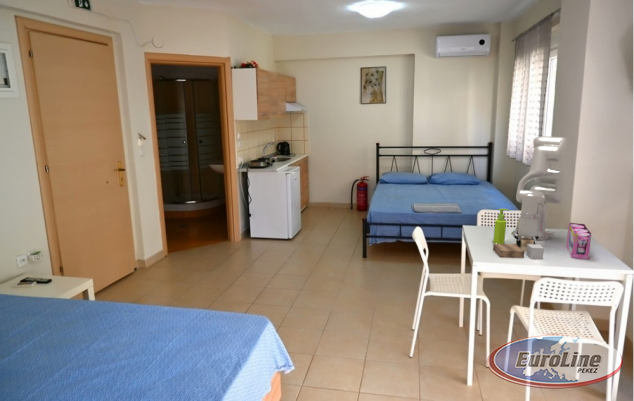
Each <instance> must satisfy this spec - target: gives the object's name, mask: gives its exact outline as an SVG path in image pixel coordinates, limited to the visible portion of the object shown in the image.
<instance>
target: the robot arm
mask: <svg viewBox="0 0 634 401" xmlns="http://www.w3.org/2000/svg"><path fill="white" fill-rule="evenodd" d="M532 144H533V151H532V152H533V153H532V158H531V163H530V169H529V172H528V173H526V174H525V175H524V176H523V177H522V178H521V179H520V180H519V183H518V185H517V189H516V194H515V200H516V201H517V202H518V203H520V204H521V209H520V210H521V211H520V216H519V217H518V219H517V222H516V227H515V229H514V230H513V231H512V232H511V233H510V234H511V236H512V237H514V238H515V240H516V241H515V242H516V243H515V244H516V245H518V246H519V247H520V243H521V241H520V239H521V237H528V238H531V239H532V240H533V241H534V244H533V245H536V242H537V241H546V240H548V236H554V234H555V233H554V232H553V231H548V230H546V227H547V221H548V220H547V219H548V212H549V211H548V207H547V206H546V204H545V203H549V204H550V203H551V204H561V203H562V201H563V199H564V195H565V189H566V188H565V186H566V181H567V172H566V170H565V168H560V167H554V162H555V163H556V162H560V161H562V160H563V157H564V155H565V154H566V153H565V152H566V150H567V148H568V139H567V138H566V137H562V136H537V137H535V138H533V142H532ZM532 180H535V182H536V183H540V185H539V184H537V185H533V186H531V187H530V189H524V188H525V185H526V184H527V183H529V182H530V181H532ZM542 184H548V185H549V186H548V185H542ZM551 185H555V186H551Z"/></svg>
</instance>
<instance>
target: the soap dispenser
mask: <svg viewBox="0 0 634 401" xmlns="http://www.w3.org/2000/svg"><path fill="white" fill-rule="evenodd" d="M498 210H499V213H498V214H497V219H495V220H494V230H493V240H492V242H493V244H496V243H497V244H505V238H506V229H507V220H505V217H506V216H505V214H504V211H508V212H509V211H510V209H508V208H498Z"/></svg>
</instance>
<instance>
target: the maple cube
mask: <svg viewBox="0 0 634 401" xmlns="http://www.w3.org/2000/svg"><path fill="white" fill-rule="evenodd" d="M520 241H521V243H520V248H521V249H522V250H523V251H525V252H527V244H532V245H533V244H534V241H533V240H532V239H531V238H528V237H524V236H522V237H521V239H520Z"/></svg>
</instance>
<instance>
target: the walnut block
mask: <svg viewBox="0 0 634 401" xmlns="http://www.w3.org/2000/svg"><path fill="white" fill-rule="evenodd" d="M493 250H494V251H495V252H494V251H493ZM492 251H493V252H494V253H495V254H496V255H497V256H498V257H499V258H507V259H508V258H509V259H513V258H514V259H524V258H525V253H526V251H523V250H522V249H521V248H520V247H519V246H518V245H516V243H515V244H514V243H513V244H512V243H504V244H496V243H493V247H492Z"/></svg>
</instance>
